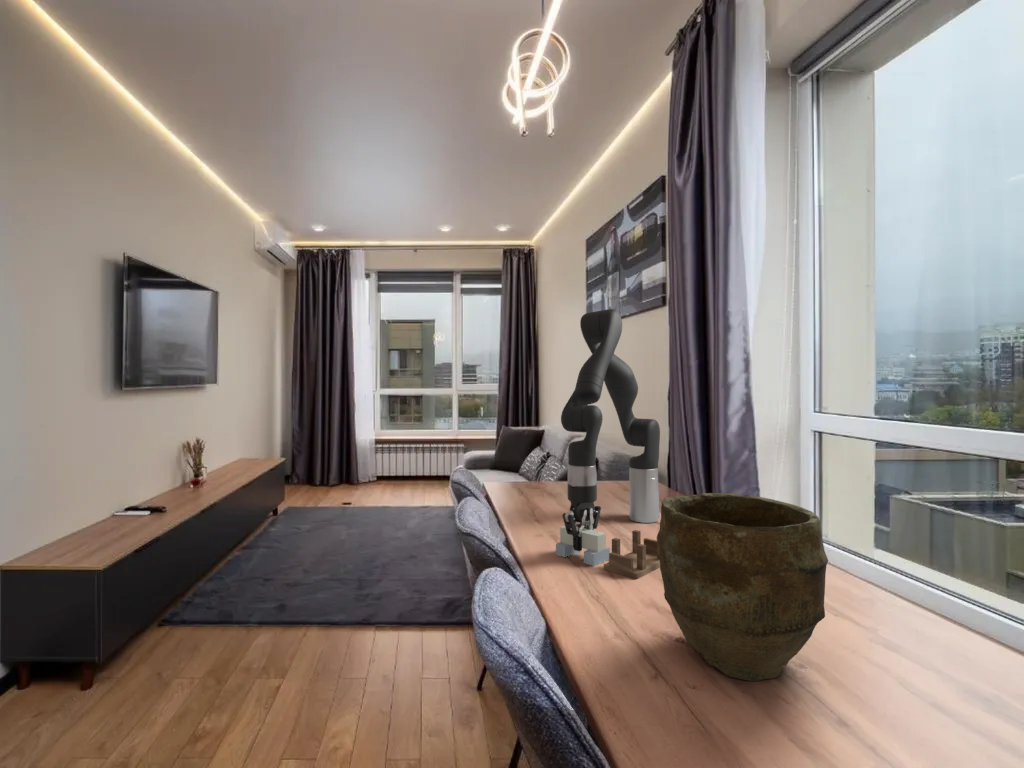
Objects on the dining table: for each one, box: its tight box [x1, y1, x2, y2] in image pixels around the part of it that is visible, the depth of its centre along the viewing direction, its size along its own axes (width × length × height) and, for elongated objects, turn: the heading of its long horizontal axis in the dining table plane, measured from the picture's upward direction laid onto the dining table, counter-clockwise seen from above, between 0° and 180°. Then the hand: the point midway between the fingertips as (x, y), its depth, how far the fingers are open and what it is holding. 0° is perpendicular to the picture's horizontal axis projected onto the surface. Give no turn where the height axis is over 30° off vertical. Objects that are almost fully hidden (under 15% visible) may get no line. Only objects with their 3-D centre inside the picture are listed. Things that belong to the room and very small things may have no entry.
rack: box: [603, 529, 660, 580], centre depth 126 cm, size 17×9×7 cm, turn 135°
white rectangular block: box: [559, 525, 607, 552], centre depth 132 cm, size 4×12×4 cm, turn 45°
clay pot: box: [656, 492, 829, 682], centre depth 84 cm, size 25×25×25 cm
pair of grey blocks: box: [555, 542, 611, 567], centre depth 132 cm, size 7×12×3 cm, turn 45°
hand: (582, 548), depth 132 cm, fingers closed on white rectangular block, 3 cm apart
